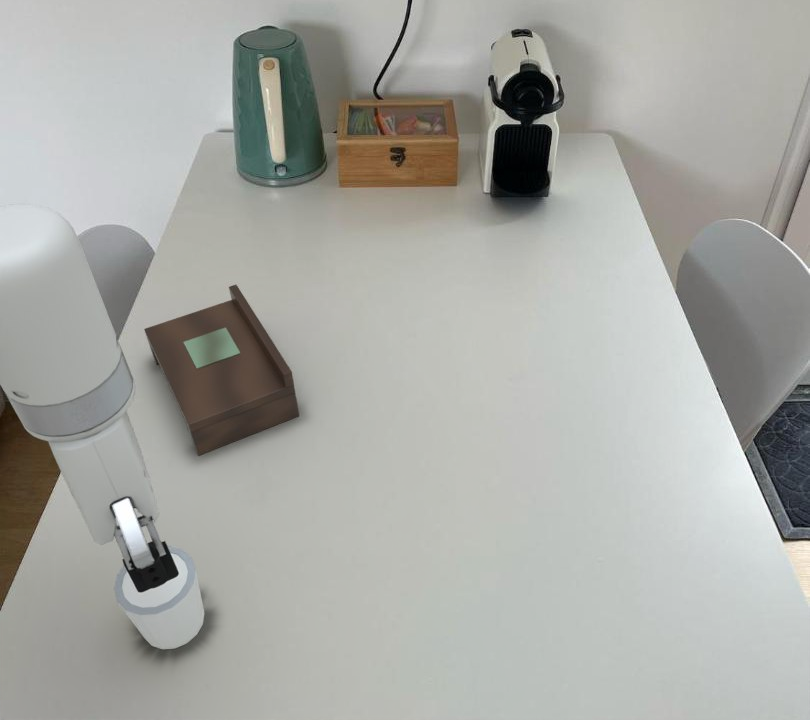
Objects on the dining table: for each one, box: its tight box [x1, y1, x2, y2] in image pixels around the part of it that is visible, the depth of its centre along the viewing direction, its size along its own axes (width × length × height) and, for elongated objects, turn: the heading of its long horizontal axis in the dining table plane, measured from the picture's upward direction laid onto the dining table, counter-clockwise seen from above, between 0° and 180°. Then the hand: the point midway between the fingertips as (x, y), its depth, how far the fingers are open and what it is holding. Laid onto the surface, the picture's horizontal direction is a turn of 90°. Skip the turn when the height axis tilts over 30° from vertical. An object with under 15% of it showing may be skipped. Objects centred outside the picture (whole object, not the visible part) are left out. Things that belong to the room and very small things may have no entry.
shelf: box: [144, 284, 300, 456], centre depth 94 cm, size 12×18×7 cm, turn 28°
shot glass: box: [113, 544, 205, 650], centre depth 72 cm, size 7×7×7 cm
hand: (142, 535), depth 65 cm, fingers open, 9 cm apart
